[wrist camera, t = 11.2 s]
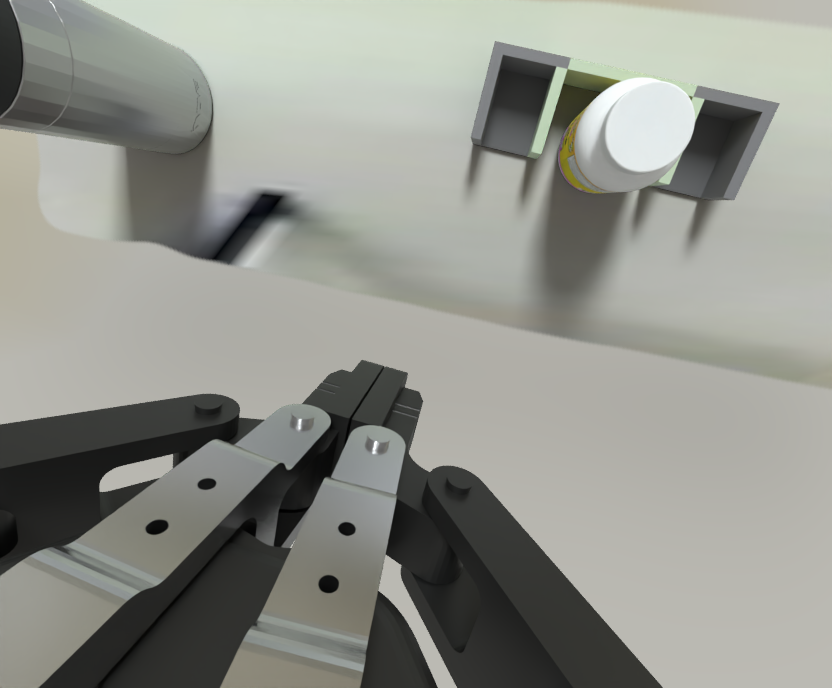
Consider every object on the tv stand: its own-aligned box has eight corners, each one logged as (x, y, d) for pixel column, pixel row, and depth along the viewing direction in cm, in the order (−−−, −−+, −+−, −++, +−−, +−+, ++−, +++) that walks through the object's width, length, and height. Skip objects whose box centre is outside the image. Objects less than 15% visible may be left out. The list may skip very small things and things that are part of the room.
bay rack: (472, 143, 37) (470, 137, 33) (494, 58, 35) (495, 41, 31) (708, 200, 36) (734, 199, 32) (747, 114, 33) (779, 103, 30)
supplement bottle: (611, 88, 34) (676, 27, 22) (656, 156, 35) (742, 133, 23) (540, 147, 36) (564, 121, 24) (584, 210, 37) (628, 215, 25)
